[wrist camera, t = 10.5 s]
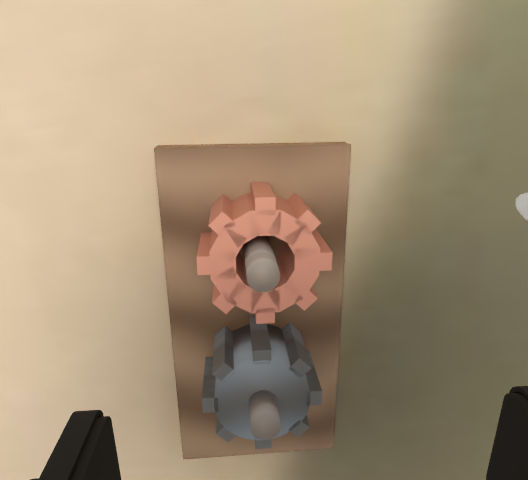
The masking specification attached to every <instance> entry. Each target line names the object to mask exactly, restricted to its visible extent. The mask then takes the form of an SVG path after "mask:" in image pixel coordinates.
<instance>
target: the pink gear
mask: <svg viewBox="0 0 528 480" xmlns="http://www.w3.org/2000/svg"><path fill="white" fill-rule="evenodd" d="M320 224H321V222H320V221H319V219H318V218H317V217H316V215H315V214H314V213H313V212H312V210H311V209H310V208H309V206H308V205H307V204H306V203H305V202H304V201H303V200H302V199H301V198H300V197H299V196H298V195H297V194H296V193H294V194H293V195H292V196H291V197H290V198H289V199H288V200H287V201H286V200H285V199H283V198H281V197H279V196H277V195H276V194H274V193H273V191H272V189H271V187H270V185H269V183H268V182H251V193H246V194H244V195H243V196H241V197H239V198H237V199H236V200H234V201H230V200H229V199H228V198H227V197H226V196H225V195H224V194H222V196H221V197H220V198H219V199H218V200H217V201H216V202H215V203H214V204H213V205H212V206H211V212H210V218H209V225H208V226H209V227H210V228H211V229H212V232H201V236H200V241H199V247H198V252H197V274H198V275H211V280H212V282H213V296H212V303H213V304H214V305H215V306H217V307H218V308H219V309H220V310H221V311H223V312H224V313H225V314H227V313H228V312H229V311H230V310H231V309H232V308H233V307H234V306H237V307H239V308H241V309H243V310H245V311H248V312H250V313H255V319H256V324H265V323H275V312H281V311H282V310H284V309H286V308H288V307H290V306H291V305H293V304H295V303H296V304H297V305H298V306H299V307H300V308H302V309H303V310H304V311H305V310H306V309H307V308H308V307H309V306H310V305H311V304H312V303H314V302H315V301H316V300H317V299H318V298H317V295H316V293H315V291H314V289H313V287H312V285H313V284H314V282H315V281H316V279H317V278H318V276H319V271H330V270H332V255H333V252H332V251H331V249H330V248H329V246H328V245H327V244H326V242H325V241H324V239H323V238H322V236H321V235H320V234H319V232H318V231H317V229H316V228H317V227H318V226H319V225H320ZM256 236H275V237H277V238H279V239H281V240H283V241H284V246H283V247H282V249H281V251H280V252H279V254H278V255H277V256H275V258H276V262H277V265H278V268H279V271H280V281H279V283H278V285H277V286H276V287H275V288H274V289H273V290H271V291H268V292H258V291H255V290H253V289H252V288H251V287H250V286H249V284H248V282H247V276H246V267H245V258H244V257H242V256H241V255H240V253H239V251H240V249H241V247H242V246H243V244H244V243H246V242H248V241H250V240H251V239H253V238H255V237H256Z"/></svg>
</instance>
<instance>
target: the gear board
mask: <svg viewBox="0 0 528 480" xmlns="http://www.w3.org/2000/svg"><path fill="white" fill-rule="evenodd" d="M154 152H155V163H156V174H157V184H158V195H159V206H160V216H161V227H162V238H163V248H164V259H165V270H166V280H167V291H168V302H169V312H170V323H171V334H172V344H173V355H174V366H175V376H176V387H177V398H178V408H179V419H180V430H181V440H182V451H183V459H195V458H208V457H221V456H234V455H247V454H261V453H274V452H287V451H300V450H313V449H326V448H333V447H334V430H335V412H336V395H337V378H338V361H339V344H340V326H341V309H342V292H343V275H344V258H345V240H346V223H347V206H348V189H349V172H350V154H351V145H350V144H348V143H345V142H327V143H271V144H214V145H158V146H157V147H155V148H154ZM251 182H268V183H269V185H270V187H271V189H272V191H273V193H274V194H276V195H277V196H279V197H281V198H283V199H285V200H286V201H287V200H288V199H289V198H290V197H291V196H292V195H293V194H294V193H296V194H297V195H298V196H299V197H300V198H301V199H302V200H303V201H304V202H305V203H306V204H307V205H308V206H309V208H310V209H311V210H312V212H313V213H314V214H315V215H316V217H317V218H318V219H319V221H320V222H321V224H320V225H319V226H318V227H317V228H316V229H317V231H318V232H319V234H320V235H321V236H322V238H323V239H324V241H325V242H326V244H327V245H328V246H329V248H330V249H331V251H332V252H333V255H332V270H330V271H319V276H318V278H317V279H316V281H315V282H314V284H313V285H312V287H313V289H314V291H315V293H316V295H317V298H318V299H317V300H316V301H315V302H314V303H312V304H311V305H310V306H309V307H308V308H307V309H306V310H305V311H304V310H303V309H302V308H300V307H299V306H298V305H297V304H296V303H295V304H293V305H291V306H290V307H288V308H286V309H284V310H282V311H281V312H275V323H265V324H256V319H255V313H250V312H248V311H245V310H243V309H241V308H239V307H237V306H234V307H233V308H232V309H231V310H230V311H229V312H228V313H227V314H225V313H224V312H223V311H221V310H220V309H219V308H218V307H217V306H215V305H214V304H213V303H212V296H213V282H212V280H211V275H198V274H197V252H198V247H199V241H200V236H201V232H212V229H211V228H210V227H209V226H208V225H209V218H210V212H211V206H212V205H213V204H214V203H215V202H216V201H217V200H218V199H219V198H220V197H221V196H222V194H224V195H225V196H226V197H227V198H228V199H229V200H230V201H234V200H236V199H237V198H239V197H241V196H243V195H244V194H246V193H251ZM283 246H284V241H283V240H281V239H279V238H277V237H275V236H256V237H255V238H253V239H251V240H250V241H248V242H246V243H244V244H243V246H242V247H241V249H240V251H239V253H240V255H241V256H242V257H244V258H245V267H246V276H247V282H248V284H249V286H250V287H251V288H252V289H253V290H255V291H258V292H268V291H271V290H273V289H274V288H275V287H276V286H277V285H278V283H279V281H280V271H279V268H278V265H277V262H276V258H275V256H277V255H278V254H279V252H280V251H281V249H282V247H283Z"/></svg>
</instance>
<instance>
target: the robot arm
mask: <svg viewBox="0 0 528 480" xmlns="http://www.w3.org/2000/svg"><path fill="white" fill-rule="evenodd" d="M31 480H121V476H120V470H119V464H118V457H117V451H116V445H115V439H114V433H113V427H112V421H111V418H110V417H109V416H106V417H104V416H103V412H102V411H101V410H91V411H75V412H74V413H73V414H72V415H71V417H70V419H69V421H68V423H67V425H66V426H65V428H64V430H63V432H62V434H61V436H60V438H59V440H58V442H57V444H56V446H55V448H54V450H53V452H52V454H51V456H50V458H49V460H48V462H47V464H46V466H45V468H44V470H43V472H42V474H41V476H40V478H39V479H31ZM486 480H528V386H518V387H513V388H512V389H511V390H510V392H509V394H506V395H505V397H504V400H503V405H502V409H501V413H500V418H499V422H498V427H497V431H496V435H495V440H494V444H493V449H492V453H491V457H490V462H489V466H488V471H487V475H486Z"/></svg>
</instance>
